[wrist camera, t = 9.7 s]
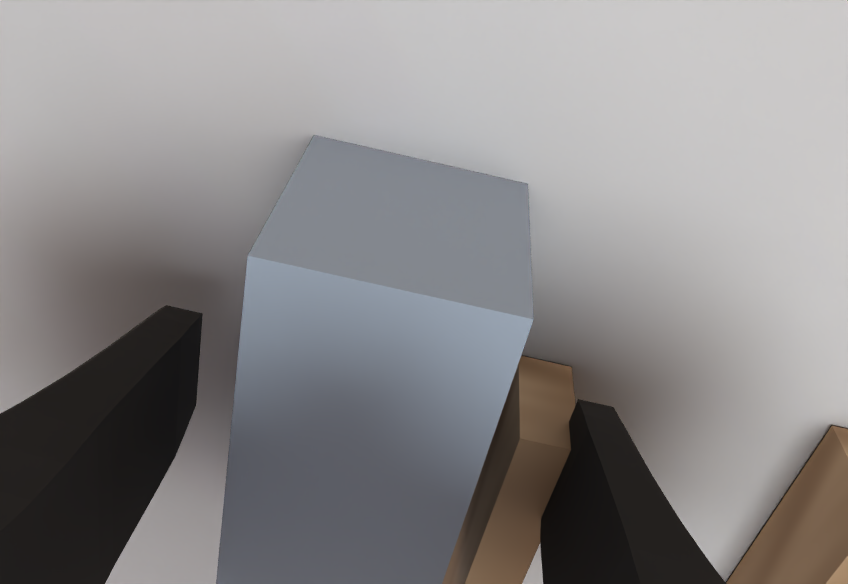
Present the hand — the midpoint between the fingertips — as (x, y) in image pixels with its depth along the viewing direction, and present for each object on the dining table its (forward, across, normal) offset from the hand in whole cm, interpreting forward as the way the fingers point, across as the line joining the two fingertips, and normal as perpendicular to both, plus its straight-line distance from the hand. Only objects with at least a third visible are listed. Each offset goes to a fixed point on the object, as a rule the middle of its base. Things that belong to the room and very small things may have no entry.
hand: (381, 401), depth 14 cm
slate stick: (+2, 0, 0) cm, 2 cm away
